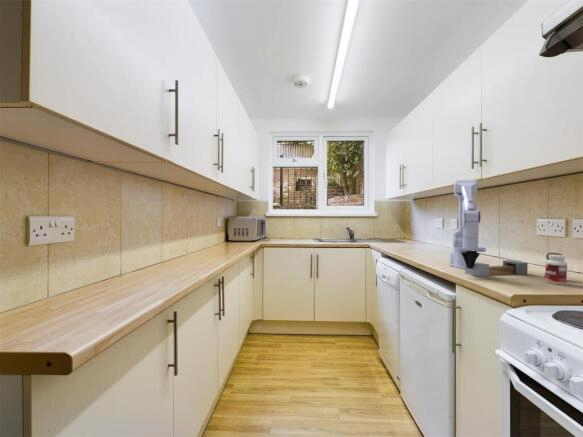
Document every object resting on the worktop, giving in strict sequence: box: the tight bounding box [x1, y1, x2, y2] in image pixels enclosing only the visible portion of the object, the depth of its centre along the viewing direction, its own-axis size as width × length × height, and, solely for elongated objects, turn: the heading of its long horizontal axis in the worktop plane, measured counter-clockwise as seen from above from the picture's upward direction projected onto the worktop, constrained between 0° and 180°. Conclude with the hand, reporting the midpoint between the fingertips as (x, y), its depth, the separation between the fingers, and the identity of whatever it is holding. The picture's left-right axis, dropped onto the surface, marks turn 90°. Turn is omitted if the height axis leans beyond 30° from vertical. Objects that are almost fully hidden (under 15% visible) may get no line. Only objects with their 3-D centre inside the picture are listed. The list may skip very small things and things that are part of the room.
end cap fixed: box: [502, 259, 529, 276], centre depth 130 cm, size 7×5×5 cm
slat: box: [489, 265, 517, 276], centre depth 128 cm, size 3×16×4 cm, turn 104°
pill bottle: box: [544, 254, 568, 286], centre depth 111 cm, size 6×6×11 cm
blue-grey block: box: [464, 261, 490, 278], centre depth 125 cm, size 7×5×5 cm
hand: (469, 268), depth 124 cm, fingers closed
